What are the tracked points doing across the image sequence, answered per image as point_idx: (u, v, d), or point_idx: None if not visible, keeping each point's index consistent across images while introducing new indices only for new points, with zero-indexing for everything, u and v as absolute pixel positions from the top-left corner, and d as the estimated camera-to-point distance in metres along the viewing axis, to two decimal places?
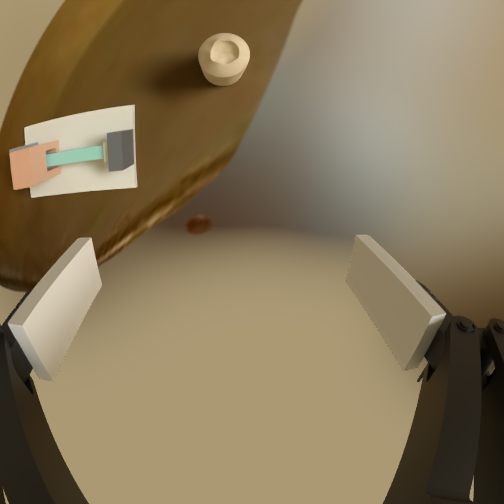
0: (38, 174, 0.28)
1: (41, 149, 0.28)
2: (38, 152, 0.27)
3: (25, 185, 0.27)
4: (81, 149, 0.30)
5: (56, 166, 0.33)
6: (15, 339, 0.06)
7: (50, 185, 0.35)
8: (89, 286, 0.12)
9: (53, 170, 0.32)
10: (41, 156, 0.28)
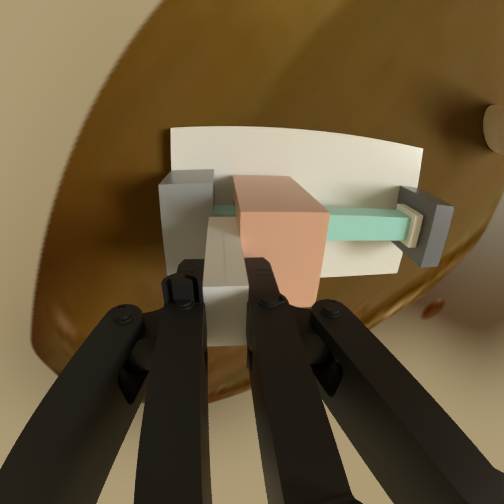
0: None
1: None
2: None
3: None
4: (371, 218, 0.18)
5: None
6: (204, 304, 0.09)
7: None
8: None
9: None
10: None
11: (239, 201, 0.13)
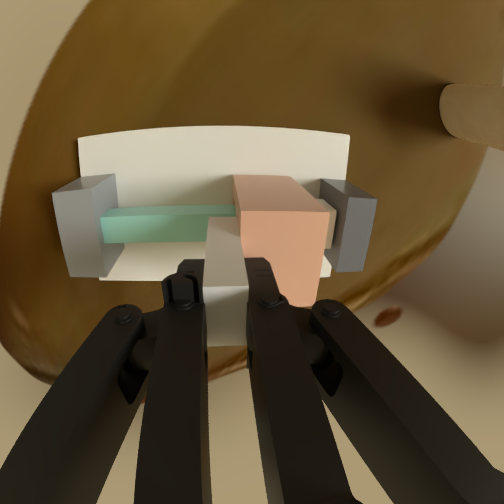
0: None
1: None
2: None
3: None
4: None
5: None
6: (204, 304, 0.09)
7: (146, 263, 0.22)
8: None
9: None
10: None
11: (239, 200, 0.13)
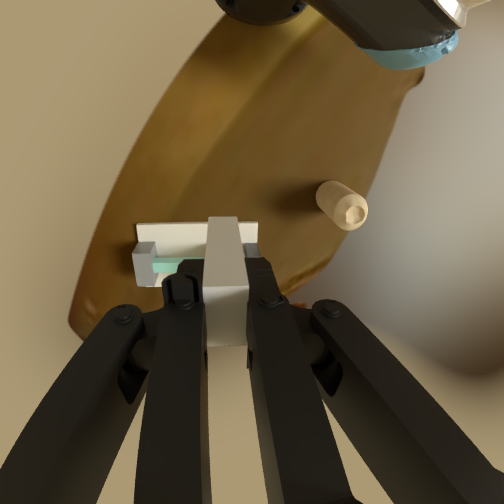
0: None
1: None
2: None
3: None
4: None
5: None
6: (204, 304, 0.09)
7: None
8: None
9: None
10: None
11: None
